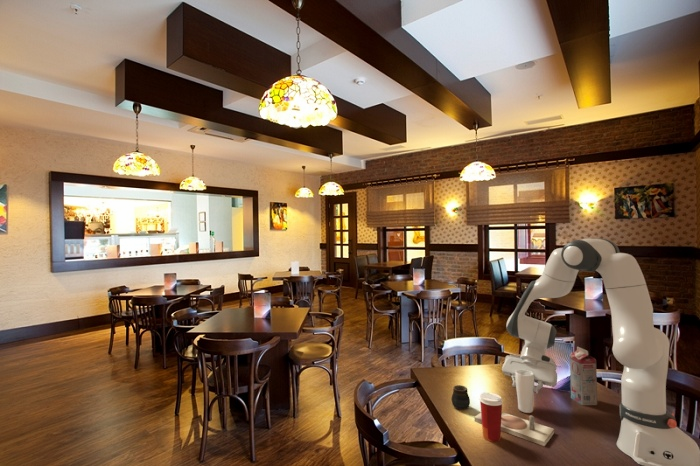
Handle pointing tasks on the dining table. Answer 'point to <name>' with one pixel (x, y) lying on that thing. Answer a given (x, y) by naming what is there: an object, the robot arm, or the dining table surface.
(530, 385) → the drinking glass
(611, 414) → the dining table surface
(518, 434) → the pin board
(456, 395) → the mate gourd
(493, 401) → the paper cup
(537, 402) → the dining table surface
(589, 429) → the dining table surface
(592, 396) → the juice carton
